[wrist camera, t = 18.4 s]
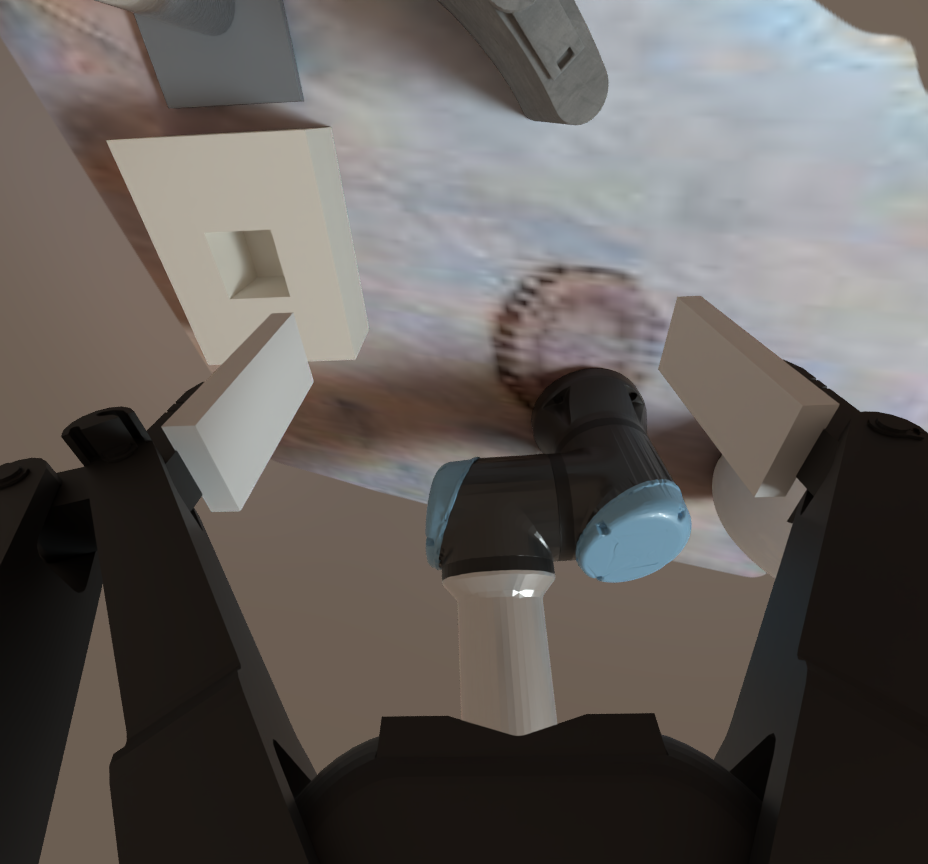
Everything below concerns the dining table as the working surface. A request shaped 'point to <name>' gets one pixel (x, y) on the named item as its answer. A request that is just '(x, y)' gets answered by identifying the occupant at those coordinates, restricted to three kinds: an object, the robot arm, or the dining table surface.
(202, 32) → the steel plug
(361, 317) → the bore block
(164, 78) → the slate mat
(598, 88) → the hip flask
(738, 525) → the pitcher
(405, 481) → the dining table surface
